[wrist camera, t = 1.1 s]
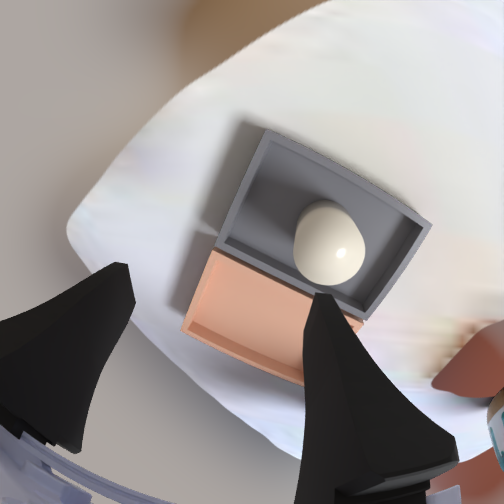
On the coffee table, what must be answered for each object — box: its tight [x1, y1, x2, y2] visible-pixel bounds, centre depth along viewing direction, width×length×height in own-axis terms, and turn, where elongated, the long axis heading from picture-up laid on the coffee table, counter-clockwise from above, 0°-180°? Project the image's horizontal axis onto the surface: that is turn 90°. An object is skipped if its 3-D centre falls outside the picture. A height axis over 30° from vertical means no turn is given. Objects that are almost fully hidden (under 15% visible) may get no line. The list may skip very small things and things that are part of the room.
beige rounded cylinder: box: [293, 200, 365, 285], centre depth 18 cm, size 4×4×5 cm
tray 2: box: [180, 246, 364, 387], centre depth 24 cm, size 14×10×2 cm
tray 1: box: [214, 129, 432, 321], centre depth 20 cm, size 14×10×2 cm
